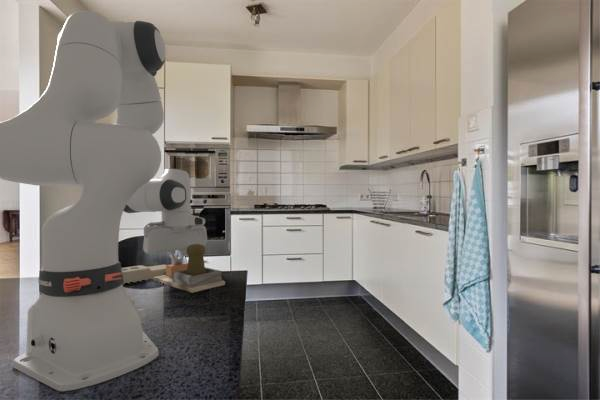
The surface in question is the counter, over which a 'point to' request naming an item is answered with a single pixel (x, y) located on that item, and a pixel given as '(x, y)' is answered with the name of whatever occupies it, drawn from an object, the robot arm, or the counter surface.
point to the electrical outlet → (142, 273)
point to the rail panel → (192, 280)
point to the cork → (195, 260)
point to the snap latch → (175, 268)
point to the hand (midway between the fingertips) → (177, 264)
